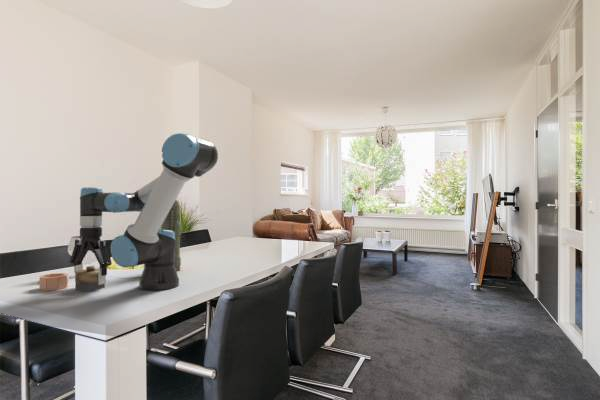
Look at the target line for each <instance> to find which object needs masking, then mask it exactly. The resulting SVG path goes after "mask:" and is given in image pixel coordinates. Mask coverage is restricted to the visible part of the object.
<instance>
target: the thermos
mask: <svg viewBox="0 0 600 400" xmlns="http://www.w3.org/2000/svg"><path fill="white" fill-rule="evenodd" d="M180 216H181V206H180V202H179V200H177V199H176V200H175V202H174V204H173V206H172V207H171V209H170V211H169V213H168V215H167V216H166V218H165V220H164V222H163V224H162V226H161V230H171V231H173V232H174V233H175V239H176V241H175V269H176V272H177V271H178V272H180V271H181V265H182V264H181V263H182V261H181V260H182V259H181V255H180V254H181V253H180V251H181V250H180V249H181V248H180V246H181V244H180V243H181V235H182V223H181V221H180V220H181V219H180ZM178 272H177V273H178Z"/></svg>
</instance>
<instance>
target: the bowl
mask: <svg viewBox="0 0 600 400" xmlns="http://www.w3.org/2000/svg"><path fill="white" fill-rule="evenodd" d="M68 284H69V273H66V272H65V273H64V272H56V273H55V272H54V273H47V274H42V275H40V276H39V290H40V291H42V292H51V291H52V292H53V291H58V290H59V291H60V290H64V289H67V288H68ZM66 287H67V288H66Z"/></svg>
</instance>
